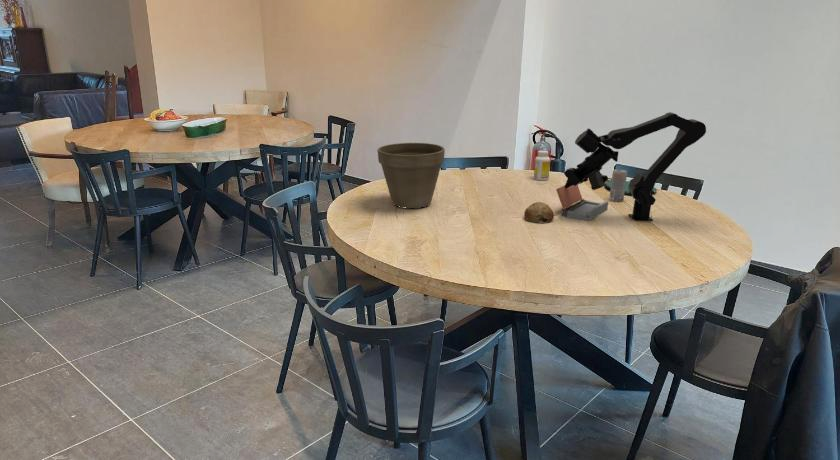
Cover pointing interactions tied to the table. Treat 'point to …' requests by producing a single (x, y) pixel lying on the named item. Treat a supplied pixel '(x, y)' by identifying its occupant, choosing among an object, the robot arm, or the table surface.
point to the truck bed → (588, 210)
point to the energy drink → (618, 185)
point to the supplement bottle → (542, 166)
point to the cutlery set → (608, 185)
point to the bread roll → (539, 213)
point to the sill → (573, 207)
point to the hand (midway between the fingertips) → (565, 187)
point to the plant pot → (411, 172)
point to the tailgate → (569, 195)
